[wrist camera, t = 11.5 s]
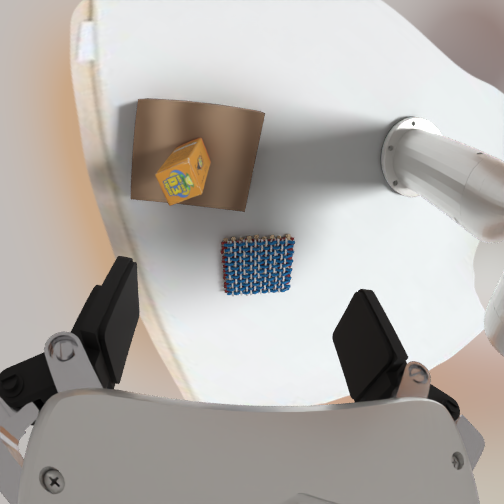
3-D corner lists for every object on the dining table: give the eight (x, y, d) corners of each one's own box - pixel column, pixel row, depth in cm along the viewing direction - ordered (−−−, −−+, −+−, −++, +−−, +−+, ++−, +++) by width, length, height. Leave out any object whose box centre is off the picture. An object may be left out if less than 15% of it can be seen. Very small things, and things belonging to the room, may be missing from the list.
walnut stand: (260, 111, 31) (264, 113, 28) (242, 199, 37) (244, 211, 34) (147, 98, 28) (138, 99, 25) (139, 188, 35) (130, 199, 31)
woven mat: (219, 234, 40) (219, 241, 38) (292, 231, 41) (296, 238, 39) (223, 290, 46) (224, 299, 44) (287, 286, 47) (290, 294, 45)
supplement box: (172, 147, 29) (152, 172, 20) (201, 136, 28) (192, 155, 20) (183, 174, 30) (168, 208, 22) (211, 163, 30) (207, 193, 22)
